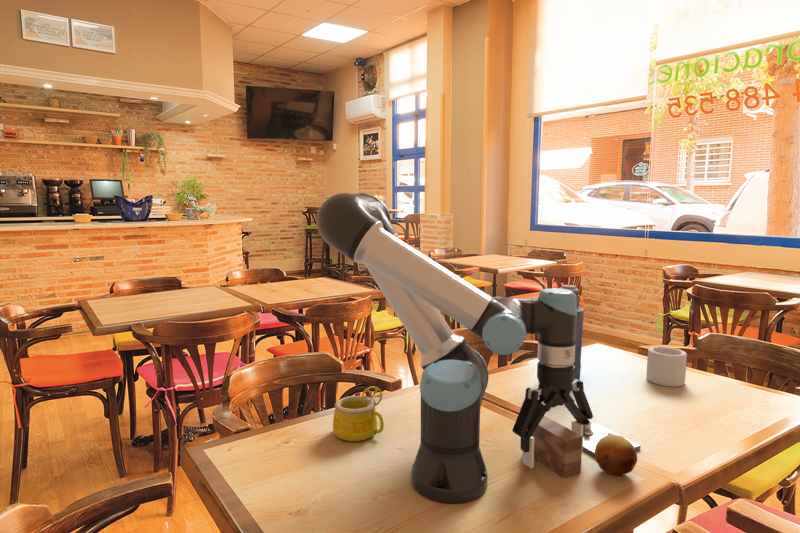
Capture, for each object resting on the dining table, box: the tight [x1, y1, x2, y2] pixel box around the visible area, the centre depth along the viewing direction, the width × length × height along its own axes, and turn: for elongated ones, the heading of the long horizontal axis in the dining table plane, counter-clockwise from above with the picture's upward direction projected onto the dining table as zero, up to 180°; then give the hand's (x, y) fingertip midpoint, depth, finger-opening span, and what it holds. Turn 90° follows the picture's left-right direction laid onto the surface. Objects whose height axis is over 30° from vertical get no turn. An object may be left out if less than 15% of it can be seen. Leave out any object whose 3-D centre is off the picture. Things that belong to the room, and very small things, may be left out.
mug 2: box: [645, 345, 688, 388], centre depth 157 cm, size 14×11×10 cm
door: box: [526, 415, 583, 479], centre depth 107 cm, size 12×4×8 cm, turn 26°
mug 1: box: [332, 385, 385, 442], centre depth 119 cm, size 13×11×12 cm
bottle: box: [559, 284, 585, 380], centre depth 158 cm, size 10×10×30 cm
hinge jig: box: [569, 421, 641, 458], centre depth 116 cm, size 12×13×4 cm
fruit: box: [594, 434, 638, 477], centre depth 102 cm, size 8×8×8 cm
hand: (552, 457), depth 107 cm, fingers open, 13 cm apart
